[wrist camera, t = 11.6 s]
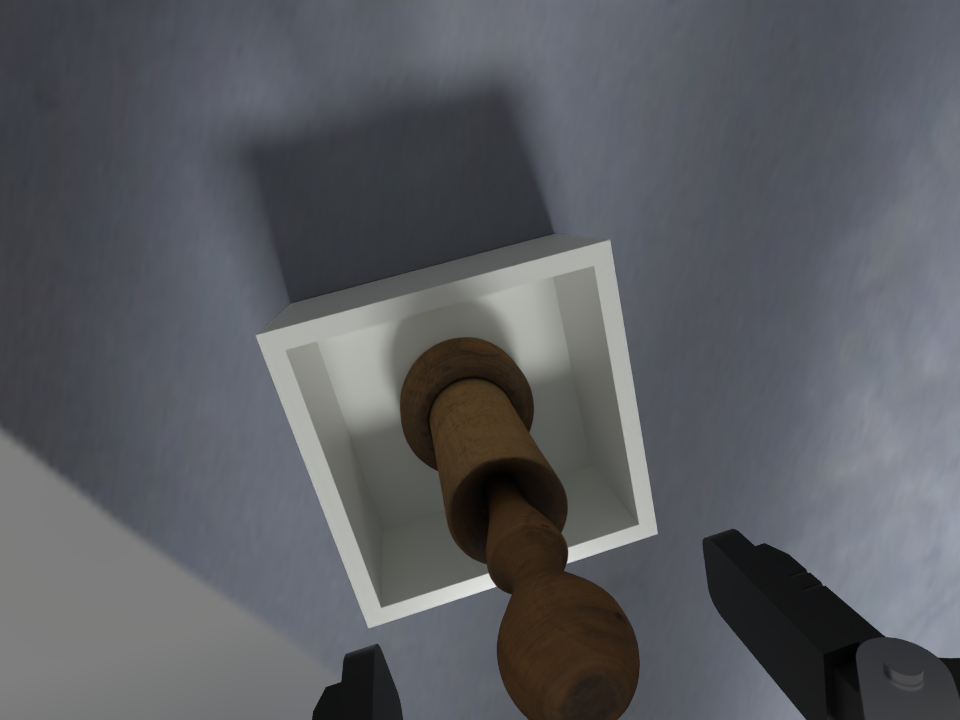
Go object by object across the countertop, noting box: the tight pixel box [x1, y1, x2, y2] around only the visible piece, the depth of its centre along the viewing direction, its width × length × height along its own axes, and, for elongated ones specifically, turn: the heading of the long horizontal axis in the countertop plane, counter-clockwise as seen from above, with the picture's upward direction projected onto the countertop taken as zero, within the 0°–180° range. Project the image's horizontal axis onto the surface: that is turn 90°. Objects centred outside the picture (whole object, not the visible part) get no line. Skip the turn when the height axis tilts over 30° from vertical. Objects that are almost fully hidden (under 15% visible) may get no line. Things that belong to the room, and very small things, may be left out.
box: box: [256, 234, 658, 628], centre depth 25 cm, size 14×14×7 cm
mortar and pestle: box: [400, 337, 640, 720], centre depth 19 cm, size 7×6×18 cm
